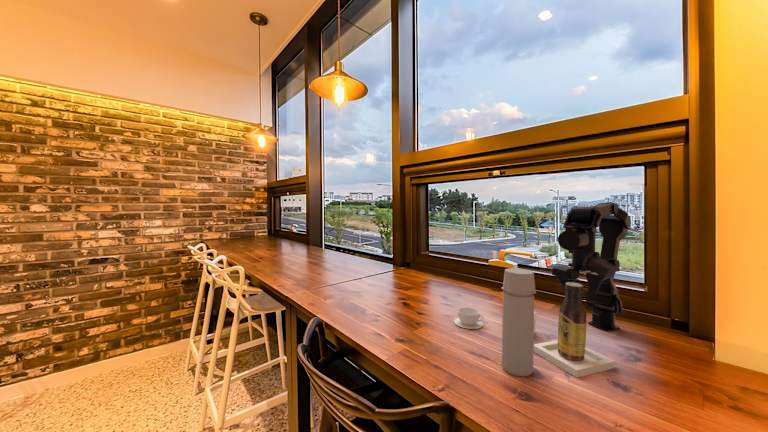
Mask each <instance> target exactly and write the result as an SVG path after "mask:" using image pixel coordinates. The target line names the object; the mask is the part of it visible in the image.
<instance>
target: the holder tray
mask: <svg viewBox="0 0 768 432" xmlns="http://www.w3.org/2000/svg"><path fill="white" fill-rule="evenodd" d="M533 353H535V354H537V355H539V356H540V357H542V358H543V359H545V360H547V361H548V362H550V363H552V364H554V365H555V366H556V367H559V368H560V369H562V370H563V371H565V372H567V373H568V374H570V375H571V374H572V375H571V376H573V377H574V378H576V377H577V378H580V377H579V376H581V377H585V376H589V375H593V374H598V373H602V372H605V371H608V370H609V371H610V370H612V369H615V368H616V367H615V363H616V361H615V360H613V359H611V358H609V357H607V356H604V355H602V354H601V353H598V352H597V351H594V350H592V349H590V348H588V347H586V346H585V355H584V359H583V360H582V361H574V360H570V359H566V358H564V357H563V356H561V355H560V354H559V353H558V339H555V340H550V341H544V342H539V343H535V344H534V345H533ZM584 375H585V376H584Z"/></svg>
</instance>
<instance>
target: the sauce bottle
mask: <svg viewBox="0 0 768 432" xmlns="http://www.w3.org/2000/svg"><path fill="white" fill-rule="evenodd" d="M565 289H566V290H564V293H565V294H564V299H563V302H562V303H561V306H560V308H559V309H558V320H557V321H558V322H557V325H558V328H557V340H558V353H559V354H560V355H561V356H563V357H564V358H566V359H570V360H574V361H582V360H583V359H584V355H585V347H586V346H587V345H586V342H587V325H588V321H587V314H588V313H587V309H586V308H585V305H584V304H583V292H584V285H583V284H581V283H580V282H579V283H578V282H577V283H574V282H567V283H565Z"/></svg>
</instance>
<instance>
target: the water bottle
mask: <svg viewBox="0 0 768 432" xmlns="http://www.w3.org/2000/svg"><path fill="white" fill-rule="evenodd" d="M500 289H502V308H501V309H502V318H501V319H502V320H501V321H502V322H501V323H502V324H501V326H502V328H501V366H502V368H503V369H504V370H505V372H506V373H509V374H510V375H512V376H517V377H523V378H524V377H529V376H531V374H532V373H533V372H534V352H533V345H534V341H535V340H534V339H535V338H534V337H535V332H534V311H535V295H534V294H537V291H536V283H535V273H534V271H533V270H531V269H530V270H529V269H526V268H525V269H524V268H517V267H516V268H515V267H510V268H505V269H504V274H503V283H502V287H500Z"/></svg>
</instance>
